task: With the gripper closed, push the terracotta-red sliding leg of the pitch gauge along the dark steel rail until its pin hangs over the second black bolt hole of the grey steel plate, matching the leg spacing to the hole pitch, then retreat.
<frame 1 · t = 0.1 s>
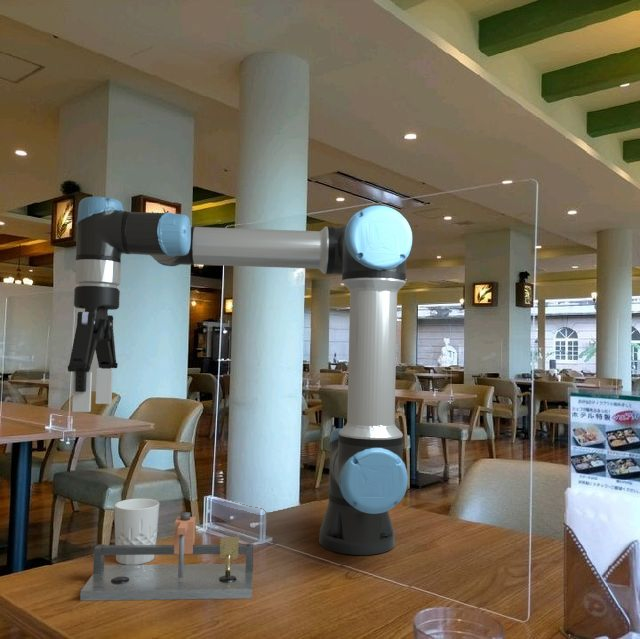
hand: (93, 407, 109), 28 cm above the table, fingers open, 13 cm apart
white cup: (135, 560, 114), on the table
pitch gauge: (172, 585, 102), on the table
sliding leg: (183, 544, 103), point 6 cm above the table, slide at 0.0 cm
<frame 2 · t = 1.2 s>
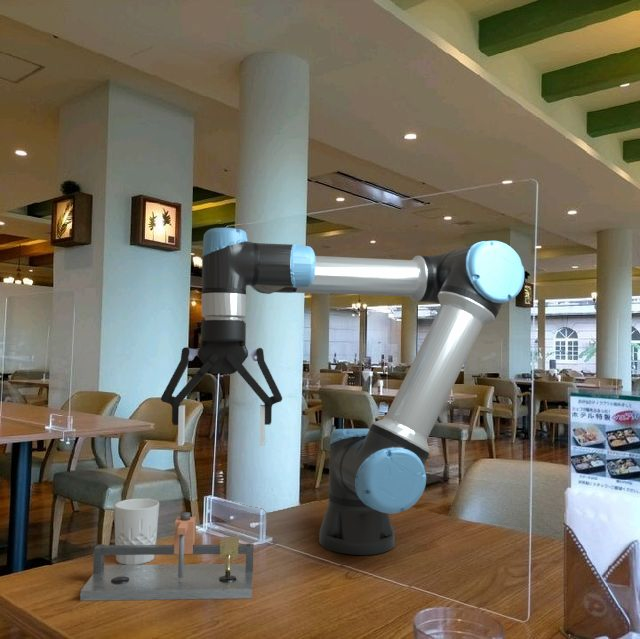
hand: (221, 444, 106), 22 cm above the table, fingers open, 13 cm apart
nothing on the table moved.
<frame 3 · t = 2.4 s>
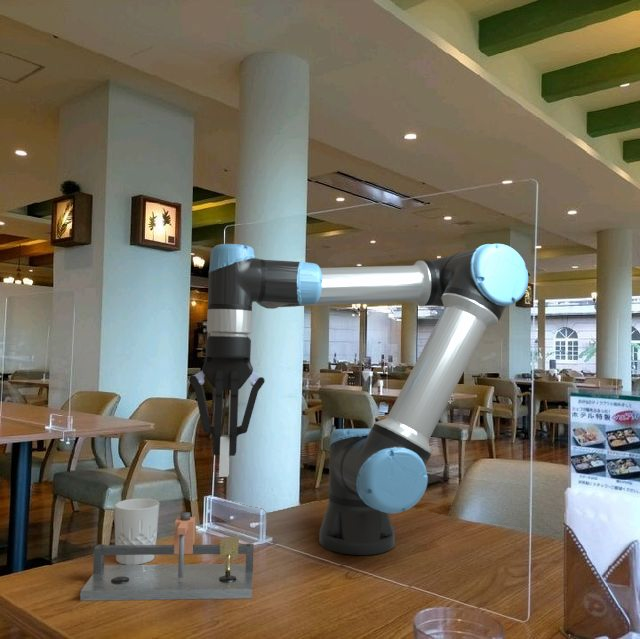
hand: (223, 474, 106), 17 cm above the table, fingers closed
nothing on the table moved.
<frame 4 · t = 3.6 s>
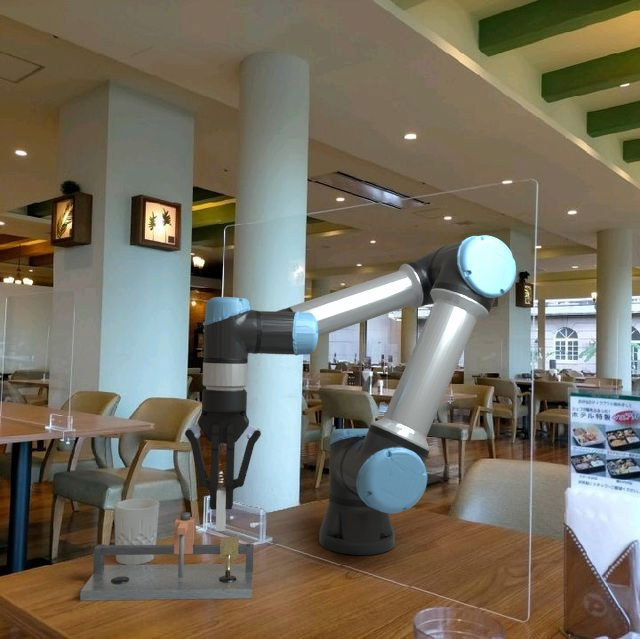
hand: (220, 528, 105), 8 cm above the table, fingers closed
nothing on the table moved.
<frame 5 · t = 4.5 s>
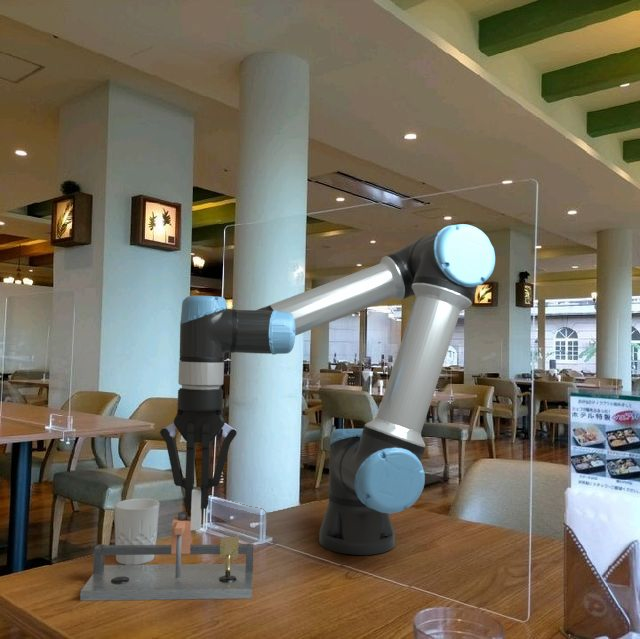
hand: (195, 527, 105), 9 cm above the table, fingers closed
sliding leg: (180, 544, 103), point 6 cm above the table, slide at 0.5 cm, touching gripper
everything else where it was.
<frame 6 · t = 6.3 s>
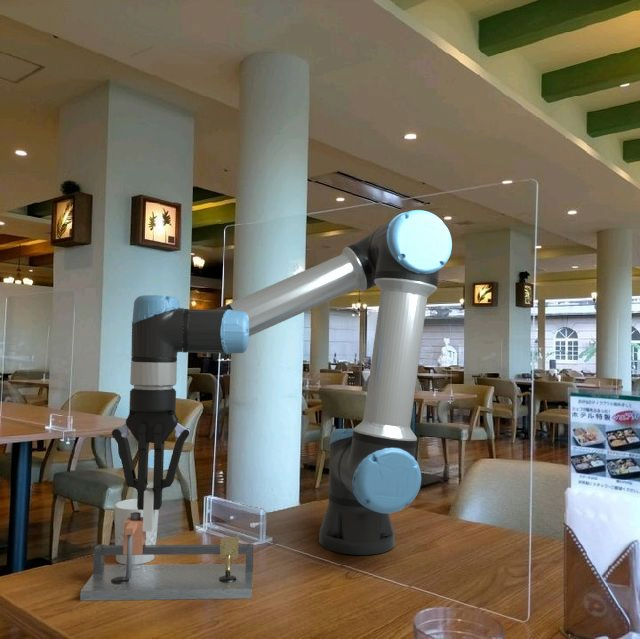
hand: (148, 528, 104), 8 cm above the table, fingers closed
sliding leg: (132, 544, 102), point 6 cm above the table, slide at 8.2 cm, touching gripper
everything else where it was.
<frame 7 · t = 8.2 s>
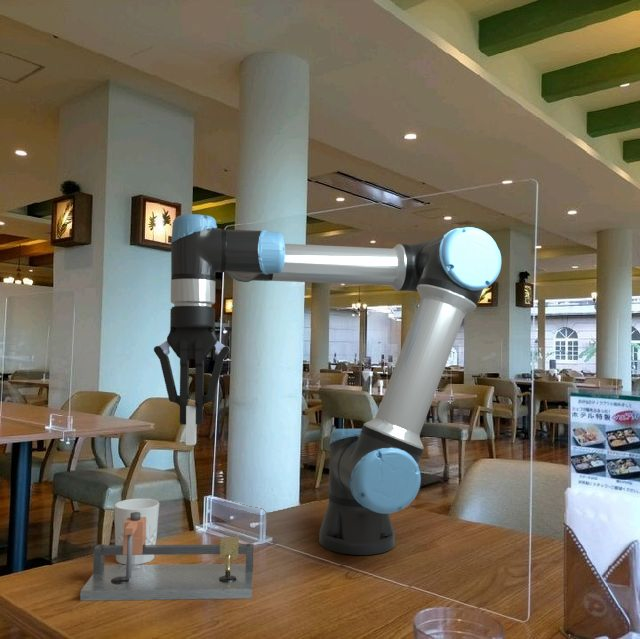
hand: (191, 443, 106), 22 cm above the table, fingers closed
sliding leg: (132, 544, 102), point 6 cm above the table, slide at 8.2 cm
everything else where it was.
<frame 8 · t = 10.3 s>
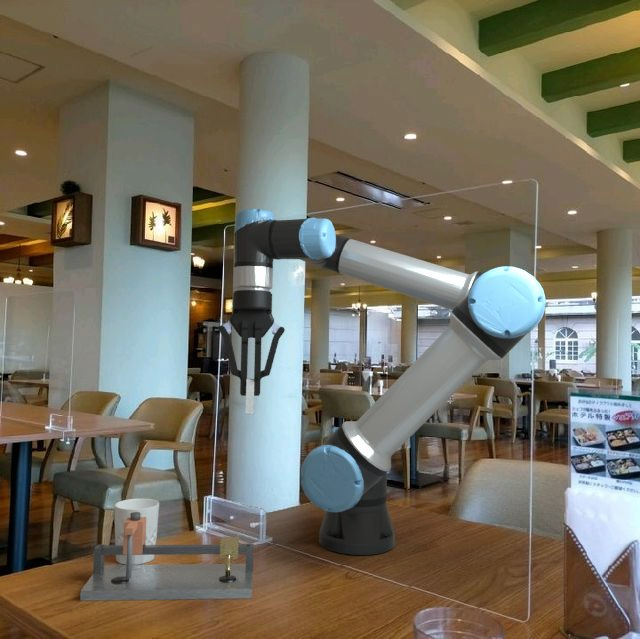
hand: (249, 412, 120), 26 cm above the table, fingers closed
nothing on the table moved.
at the end: sliding leg slide at 8.2 cm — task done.
